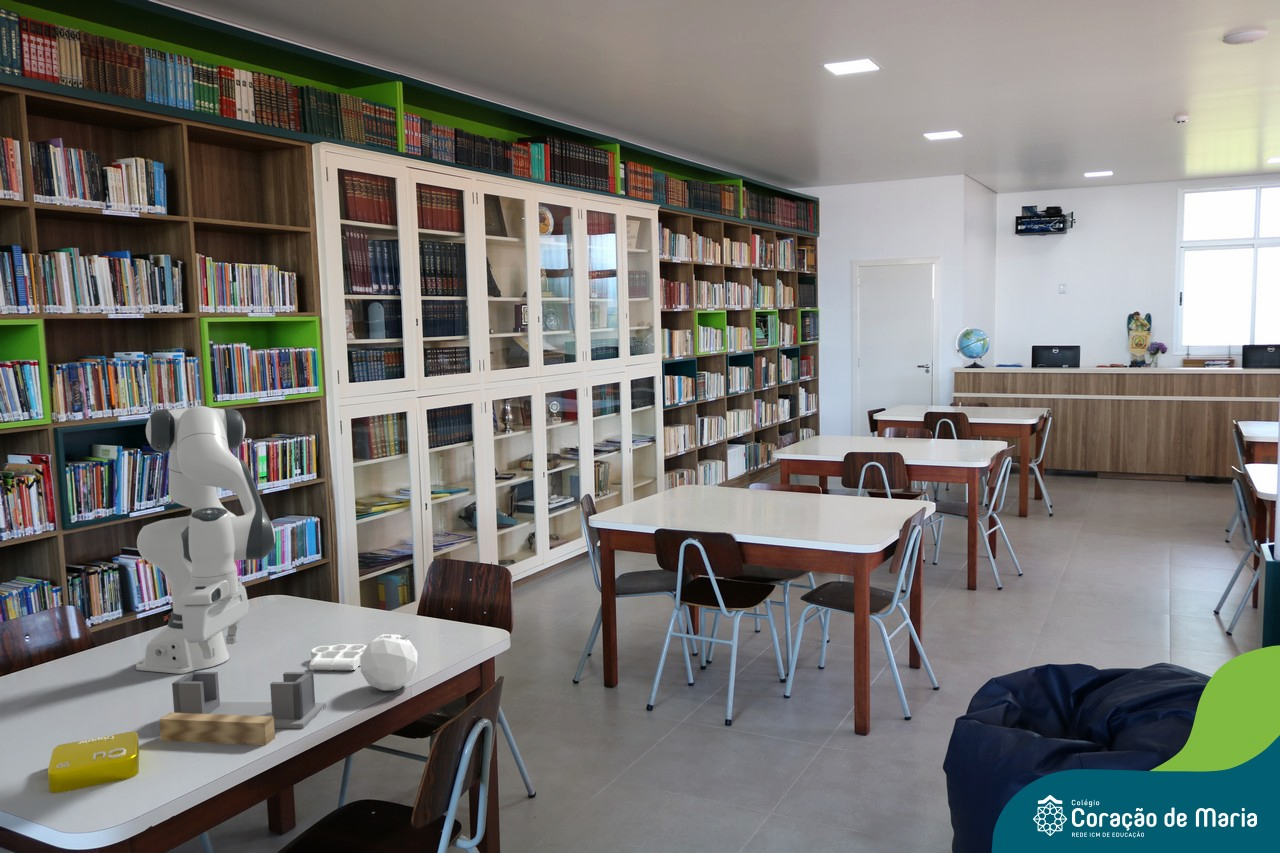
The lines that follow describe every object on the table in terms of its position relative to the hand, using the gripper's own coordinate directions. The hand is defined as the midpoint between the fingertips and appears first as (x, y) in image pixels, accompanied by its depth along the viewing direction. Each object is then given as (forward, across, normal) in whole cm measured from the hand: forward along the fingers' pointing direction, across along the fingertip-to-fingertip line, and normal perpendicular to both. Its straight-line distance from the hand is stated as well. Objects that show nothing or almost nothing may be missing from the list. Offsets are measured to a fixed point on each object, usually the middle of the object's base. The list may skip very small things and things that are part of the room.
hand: (220, 650), depth 201 cm
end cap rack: (+19, -11, -2) cm, 22 cm away
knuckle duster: (+19, -47, +7) cm, 51 cm away
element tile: (+19, +16, -19) cm, 31 cm away
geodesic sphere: (+19, -29, +26) cm, 43 cm away
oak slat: (+19, +1, -2) cm, 19 cm away
